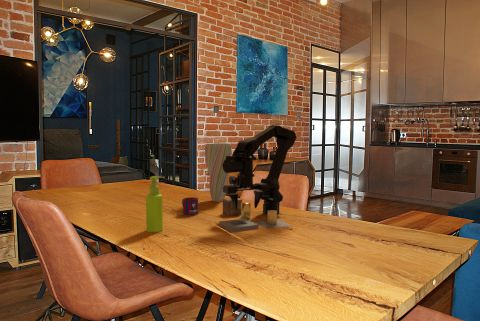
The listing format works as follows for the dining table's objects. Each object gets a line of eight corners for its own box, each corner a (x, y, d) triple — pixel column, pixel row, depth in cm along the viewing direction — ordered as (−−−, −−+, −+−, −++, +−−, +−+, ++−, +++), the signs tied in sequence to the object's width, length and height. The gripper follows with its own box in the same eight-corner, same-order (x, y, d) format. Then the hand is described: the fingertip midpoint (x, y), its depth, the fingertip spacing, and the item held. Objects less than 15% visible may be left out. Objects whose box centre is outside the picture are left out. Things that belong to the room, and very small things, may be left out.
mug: (186, 216, 166) (186, 200, 166) (177, 211, 175) (177, 197, 174) (200, 214, 170) (200, 199, 169) (191, 210, 178) (191, 195, 178)
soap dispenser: (167, 228, 145) (166, 175, 143) (157, 233, 138) (156, 177, 137) (153, 227, 147) (152, 174, 145) (143, 231, 140) (142, 176, 139)
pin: (247, 218, 163) (247, 201, 163) (252, 220, 160) (252, 203, 159) (239, 219, 161) (239, 202, 161) (243, 221, 158) (243, 204, 157)
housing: (235, 212, 174) (235, 197, 173) (241, 215, 168) (242, 199, 168) (222, 213, 171) (222, 198, 171) (228, 216, 165) (228, 200, 165)
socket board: (244, 223, 154) (244, 218, 153) (258, 229, 144) (258, 224, 144) (219, 226, 149) (219, 221, 148) (231, 233, 139) (231, 227, 139)
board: (276, 220, 158) (276, 207, 158) (291, 226, 149) (292, 212, 148) (253, 223, 154) (253, 209, 153) (267, 229, 144) (267, 215, 143)
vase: (235, 200, 206) (236, 143, 203) (221, 203, 194) (221, 144, 192) (215, 197, 213) (215, 143, 211) (199, 201, 202) (199, 143, 199)
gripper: (256, 168, 170) (256, 203, 172) (217, 170, 162) (217, 207, 163) (269, 171, 160) (269, 208, 162) (228, 173, 152) (228, 212, 153)
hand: (245, 208), depth 160 cm, fingers open, 9 cm apart
